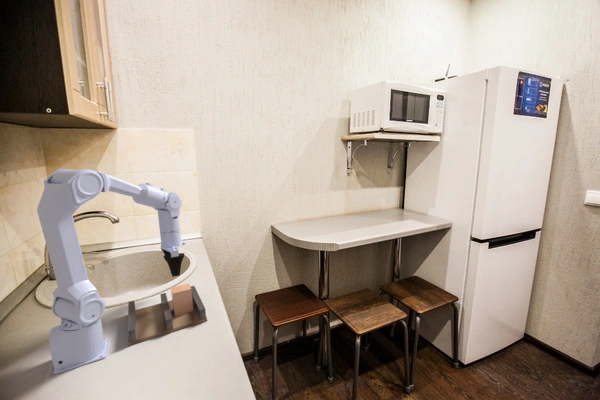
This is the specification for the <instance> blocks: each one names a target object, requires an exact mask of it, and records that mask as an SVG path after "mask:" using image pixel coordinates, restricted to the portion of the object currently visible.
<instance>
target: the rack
mask: <svg viewBox="0 0 600 400" xmlns="http://www.w3.org/2000/svg"><path fill="white" fill-rule="evenodd" d="M190 287H191V291H192V302H193V311H191V312H188V313H184V314H181V315H178V316H175V314H174V311H173V303H172V299H171V300H169V299H168V295H167V292H164V293H160V303H155V304H152V305H150V306H149V305H148V306H144V307H142V308H138V309H136V304H135V300H132V301H128V306H127V313H128V314H127V332H128V333H127V334H128V335H127V336H128V338H127V339H128V341H127V344H128V346H133V345H136V344H139V343H142V342H145V341H148V340H152V339H153V338H157V337H160V336H164V335H167V334H170V333H173V332H176V331H180V330H183V329H186V328H189V327H192V326H196V325H199V324H202V323H206V322H208V318H207V315H206V314H207V313H206V307H205V305H204V303H203V301H202V299H201V297H200V295H199V293H198V291H197V288H196V287H195V285H192V286H191V285H190Z"/></svg>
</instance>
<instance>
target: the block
mask: <svg viewBox="0 0 600 400" xmlns="http://www.w3.org/2000/svg"><path fill="white" fill-rule="evenodd" d="M170 292H171V300H172V303H173V311H174V314H175V316H178V315H181V314H184V313H188V312H191V311H193V302H192V291H191V285H190V283H185V284H180V285H177V286H173V287H170Z"/></svg>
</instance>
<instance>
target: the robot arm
mask: <svg viewBox="0 0 600 400" xmlns="http://www.w3.org/2000/svg"><path fill="white" fill-rule="evenodd" d="M43 187H44V189H43V192H42V195H41V197H40V199H39V203H38V204H37V205H38V206H37V208H36V209H37V210H36V212H37V216H38V220H39V223H40V226H41V229H42V230H41V232H42V234H43V236H44V237H43V238H44V241H45V245H46V248H47V252H48V255H49V260H50V262H51V263H50V264H51V265H52V270H53V273H54V277H55V281H56V285H57V287H56V288H55V289H54V290H53V291H52V295H53V301H52V304H51V311H52V313H53V315H54V316H56V317H59V318H60V324H59V325H56V326H54V327H52V328H51V329H50V332H49V335H48V336H49V337H48V339H49V340H48V342H49V343H48V345H49V351H50V355H51V362H52V366H53V375H58V374H60V373H64V372H67V371H70V370H72V369H73V370H74V369H76V368H78V367H82V366H85V365H88V364H89V365H90V364H92V363H94V362H97V361H100V360H103V359H105V358H107V354H108V345H109V337H106V338H105V336H104V330H103V324H102V316H103V314H104V313H105V310H106V302H105V300H104V298H103V297H101V296H100V294H99V292H98V289H97V288H96V287H95V285H94V284H93V283H92V282H91V281H90V280H89V275H88V273H87V268H86V265H85V260H84V256H83V252H82V248H81V244H80V240H79V235H78V232H77V227H76V224H75V223H76V222H75V221H74V217H73V215H74V214H75V213H76V211H78V209H79V208H80V207H81V206H82V205H84V204H86V203H87V202H89V201H90V200H93V199H94V198H96V197H97V196H98V195H100V193H107V192H111V193H112V192H113V193H114V194H115V193H116V194H119V195H124V196H128V197H131V198H132V200H133V201H134V203H136V204H139V205H142V206H146V207H149V208H153V209H154V210H155V211H157V218H158V225H159V233H160V234H159V235H160V249H161V251H162V252H163V259H164V260H165V262H166V264H167V265H168V268H169V271H170V274H171V276H172V278H173V277H178V276H180V275H181V269H182V263H183V260H184V258H185V252H182V253H181V252H180V253H179V250H180V249H181V248H182V246H183V245H184V246H185V245H186V241H185V240H182V237H181V227H180V214H181V207H182V203H183V200H181V198H180V196H179V194H177V193H176V192H169V191H168V192H167V191H166V188H158V187H155V186H153V183H150V182H145V183H140V184H138V185H136V184H134V183H131V182H128V181H126V180H123V179H121V178H118V177H115V176H114V175H112V174H111V175H110V174H108V173H105V172H101V171H96V170H94V169H88V168H86V169H85V168H84V169H70V168H69V169H68V168H59V169H57V170H55V171H53V172H51V174H49V176H48V177H46V178H45V179H44V180H43Z"/></svg>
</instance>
